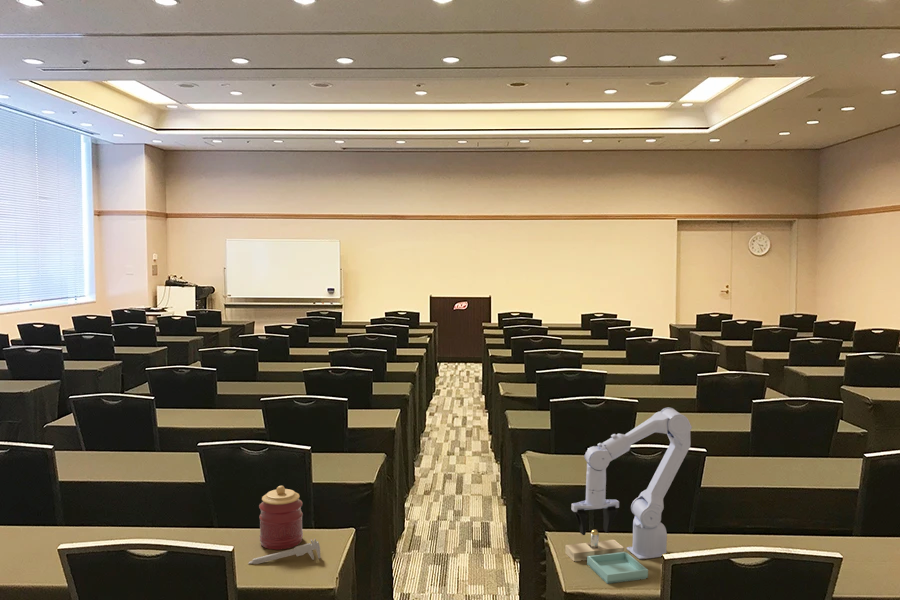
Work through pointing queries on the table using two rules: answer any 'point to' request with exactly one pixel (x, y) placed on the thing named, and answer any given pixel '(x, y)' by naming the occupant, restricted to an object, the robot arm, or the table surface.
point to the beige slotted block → (584, 549)
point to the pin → (594, 539)
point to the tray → (617, 567)
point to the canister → (281, 519)
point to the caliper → (291, 553)
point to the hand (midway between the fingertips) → (594, 532)
